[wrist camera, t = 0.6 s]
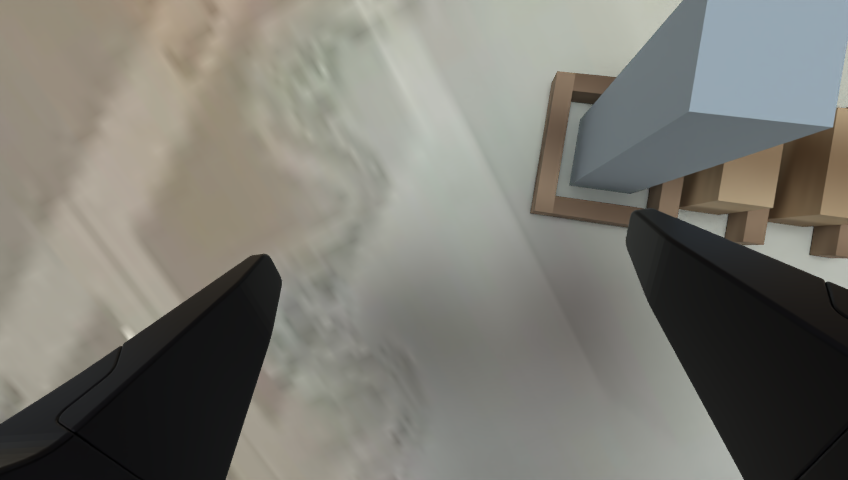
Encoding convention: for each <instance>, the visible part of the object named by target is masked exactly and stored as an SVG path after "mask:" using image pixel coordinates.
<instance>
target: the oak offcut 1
mask: <svg viewBox="0 0 848 480" xmlns="http://www.w3.org/2000/svg"><path fill="white" fill-rule="evenodd" d="M783 145H784V144H781V145H778V146H775V147H772V148H768V149H765V150H762V151H759V152H756V153H753V154H750V155H747V156H744V157H741V158H738V159H735V160H732V161H729V162H726V163H723V164H720V165H717V166H714V167H711V168H707V169H704V170H701V171H698V172H695V173H692V174H689V175H686V176H684V180H683V186H682V192H681V198H680V204H679V209H681V210H688V211H696V212H703V213H710V214H717V215H721V214H728V213H736V212H744V211H752V210H760V209H768V208H773V205H774V199H775V193H776V187H777V181H778V175H779V169H780V163H781V157H782V151H783Z"/></svg>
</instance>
